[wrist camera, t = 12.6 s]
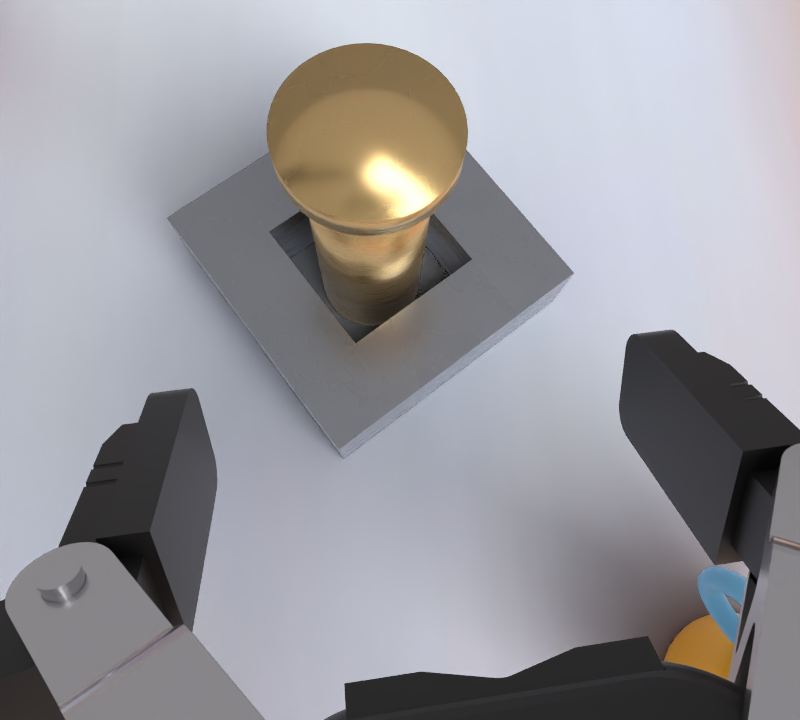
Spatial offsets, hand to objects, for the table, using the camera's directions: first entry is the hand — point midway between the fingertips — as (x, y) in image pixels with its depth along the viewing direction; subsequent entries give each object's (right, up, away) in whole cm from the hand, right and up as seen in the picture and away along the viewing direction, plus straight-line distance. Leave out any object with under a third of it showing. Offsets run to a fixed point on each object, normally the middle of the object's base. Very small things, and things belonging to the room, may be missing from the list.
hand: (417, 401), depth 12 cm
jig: (-2, +5, +18) cm, 19 cm away
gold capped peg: (-2, +4, +18) cm, 19 cm away
